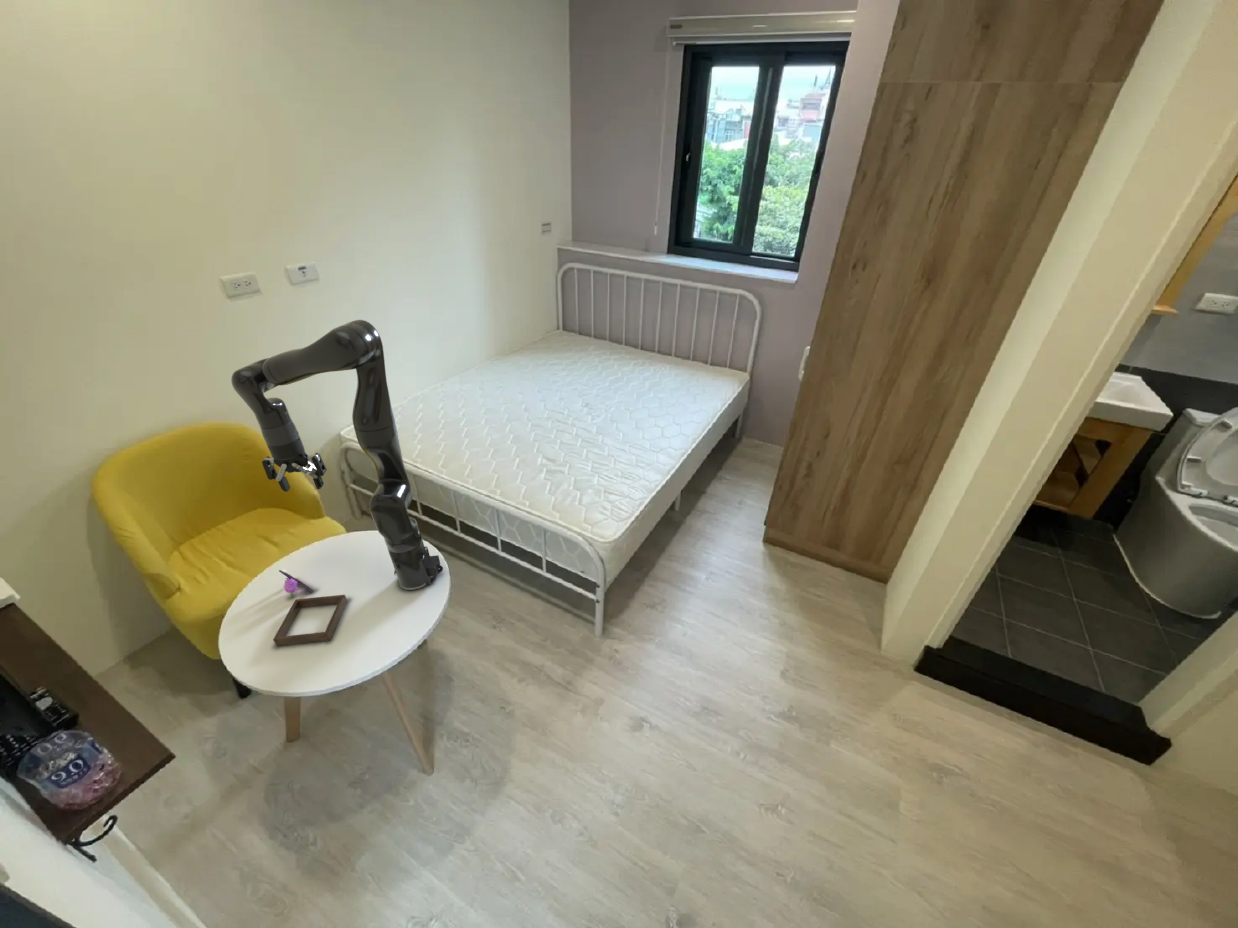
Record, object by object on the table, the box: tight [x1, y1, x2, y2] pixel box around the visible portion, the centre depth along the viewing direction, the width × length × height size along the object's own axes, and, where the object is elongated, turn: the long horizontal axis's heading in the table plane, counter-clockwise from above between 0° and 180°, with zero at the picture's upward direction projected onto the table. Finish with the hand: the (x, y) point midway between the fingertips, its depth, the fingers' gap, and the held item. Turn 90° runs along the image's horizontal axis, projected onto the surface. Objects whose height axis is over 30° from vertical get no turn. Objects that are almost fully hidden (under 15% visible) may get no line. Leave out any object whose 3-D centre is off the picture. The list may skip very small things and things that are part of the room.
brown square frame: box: [272, 594, 348, 647], centre depth 135 cm, size 13×14×3 cm
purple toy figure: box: [278, 569, 314, 598], centre depth 144 cm, size 7×5×9 cm
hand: (304, 488), depth 140 cm, fingers open, 8 cm apart
